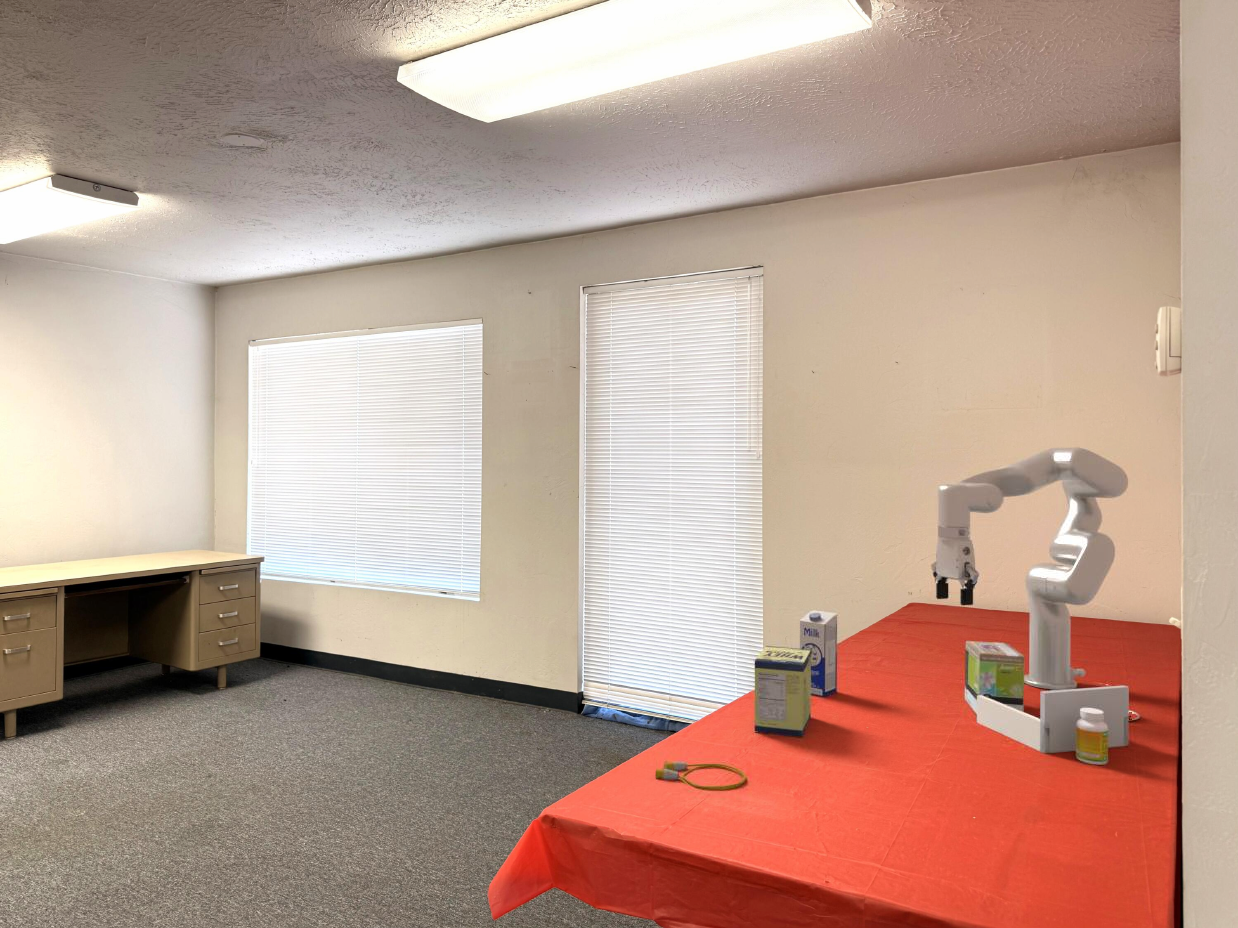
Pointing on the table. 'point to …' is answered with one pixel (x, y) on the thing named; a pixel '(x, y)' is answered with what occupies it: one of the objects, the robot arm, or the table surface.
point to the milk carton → (821, 650)
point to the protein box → (783, 691)
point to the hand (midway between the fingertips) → (954, 601)
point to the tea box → (994, 674)
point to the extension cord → (673, 768)
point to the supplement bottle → (1092, 737)
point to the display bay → (1059, 717)
